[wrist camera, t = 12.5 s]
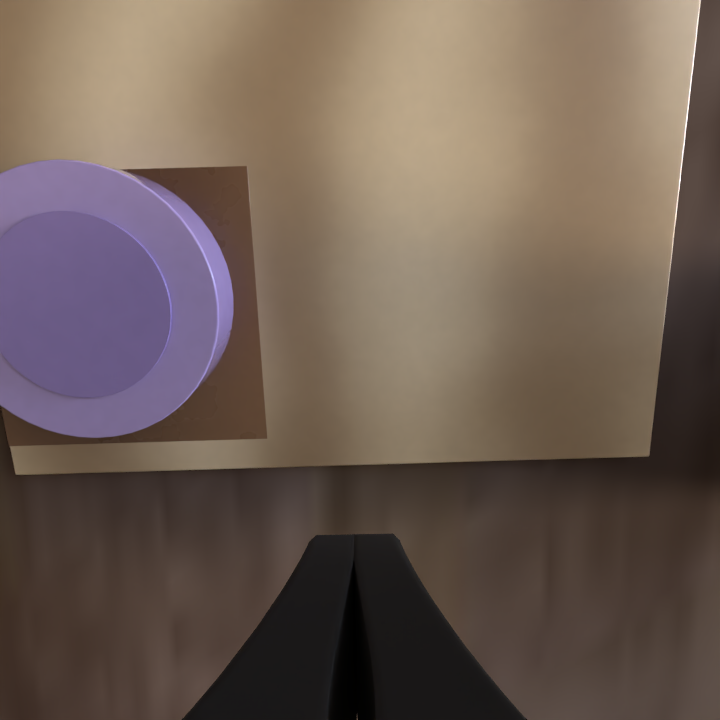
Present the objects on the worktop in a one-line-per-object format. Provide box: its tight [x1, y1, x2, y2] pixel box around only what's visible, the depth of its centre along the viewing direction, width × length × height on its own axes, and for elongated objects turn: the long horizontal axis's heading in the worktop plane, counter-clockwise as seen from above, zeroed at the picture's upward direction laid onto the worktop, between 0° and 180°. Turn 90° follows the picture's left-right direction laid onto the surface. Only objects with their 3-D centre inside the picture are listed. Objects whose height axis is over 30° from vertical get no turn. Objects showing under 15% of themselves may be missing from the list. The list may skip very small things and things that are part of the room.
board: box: [0, 0, 701, 475], centre depth 14 cm, size 20×24×1 cm
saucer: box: [0, 159, 233, 438], centre depth 15 cm, size 7×7×2 cm
